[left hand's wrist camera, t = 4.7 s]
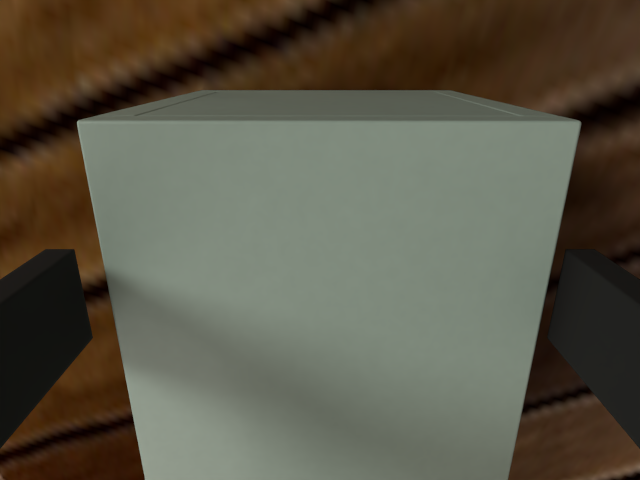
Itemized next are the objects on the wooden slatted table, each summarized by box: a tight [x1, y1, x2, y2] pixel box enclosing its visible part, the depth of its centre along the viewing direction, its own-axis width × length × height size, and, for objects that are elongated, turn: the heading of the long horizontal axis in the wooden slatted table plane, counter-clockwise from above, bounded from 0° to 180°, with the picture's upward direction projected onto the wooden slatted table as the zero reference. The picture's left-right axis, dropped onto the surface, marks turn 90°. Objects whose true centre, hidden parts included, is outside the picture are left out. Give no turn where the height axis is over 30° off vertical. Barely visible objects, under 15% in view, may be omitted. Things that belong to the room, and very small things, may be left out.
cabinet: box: [77, 90, 581, 480], centre depth 20 cm, size 22×12×12 cm, turn 0°
